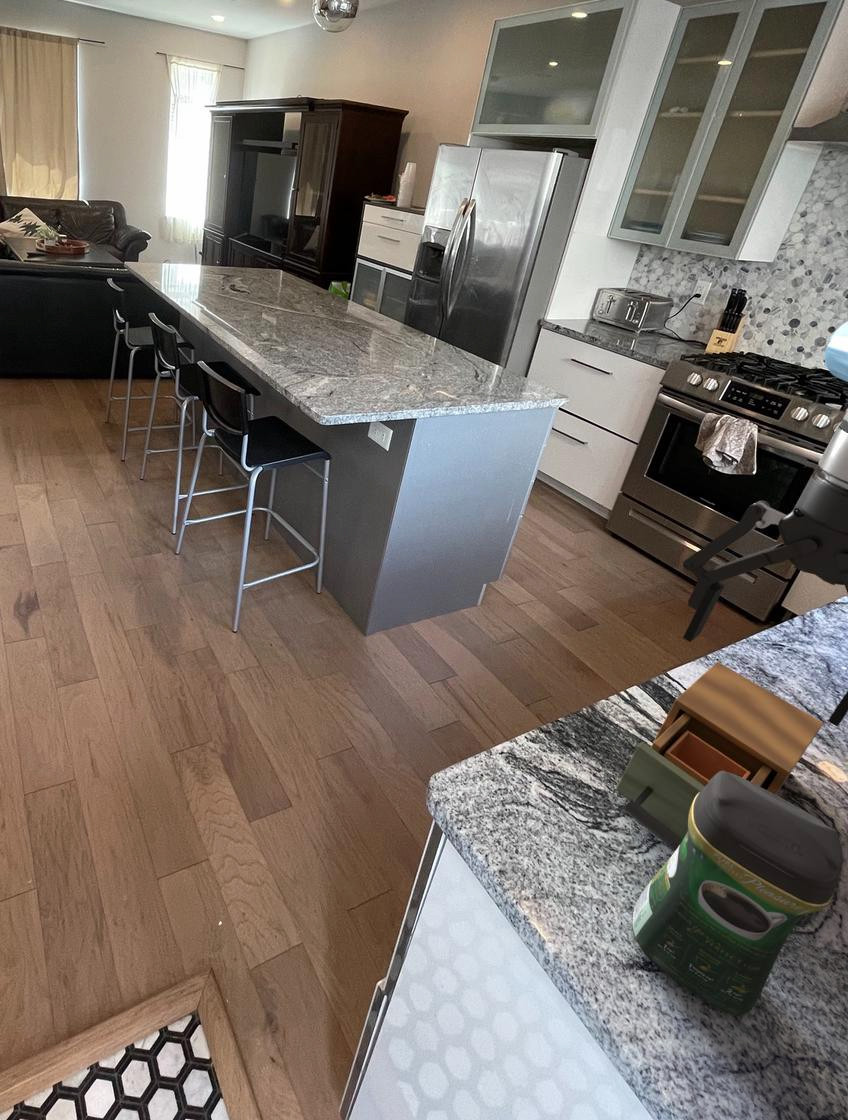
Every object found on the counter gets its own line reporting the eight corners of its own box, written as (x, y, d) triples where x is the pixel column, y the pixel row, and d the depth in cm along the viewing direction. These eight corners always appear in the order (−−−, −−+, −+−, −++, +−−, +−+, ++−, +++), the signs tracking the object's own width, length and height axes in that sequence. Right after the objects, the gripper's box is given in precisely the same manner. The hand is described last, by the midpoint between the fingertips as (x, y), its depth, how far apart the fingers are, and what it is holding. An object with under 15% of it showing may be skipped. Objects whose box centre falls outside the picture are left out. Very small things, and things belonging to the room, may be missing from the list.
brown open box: (711, 830, 66) (731, 798, 64) (648, 783, 71) (665, 751, 69) (731, 804, 70) (750, 772, 68) (670, 761, 74) (687, 730, 73)
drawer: (697, 896, 61) (727, 849, 58) (594, 810, 68) (616, 765, 65) (756, 810, 71) (784, 767, 68) (661, 744, 78) (683, 703, 76)
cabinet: (754, 827, 70) (789, 772, 67) (648, 751, 78) (675, 699, 75) (790, 773, 78) (823, 722, 75) (691, 710, 86) (717, 661, 83)
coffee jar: (752, 959, 57) (856, 819, 50) (747, 1040, 51) (863, 894, 44) (637, 882, 62) (715, 745, 55) (620, 947, 56) (705, 803, 49)
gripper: (702, 438, 62) (623, 615, 70) (1071, 569, 45) (908, 783, 53) (729, 429, 66) (652, 597, 74) (1074, 546, 49) (923, 746, 57)
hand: (758, 674), depth 64 cm, fingers open, 12 cm apart
